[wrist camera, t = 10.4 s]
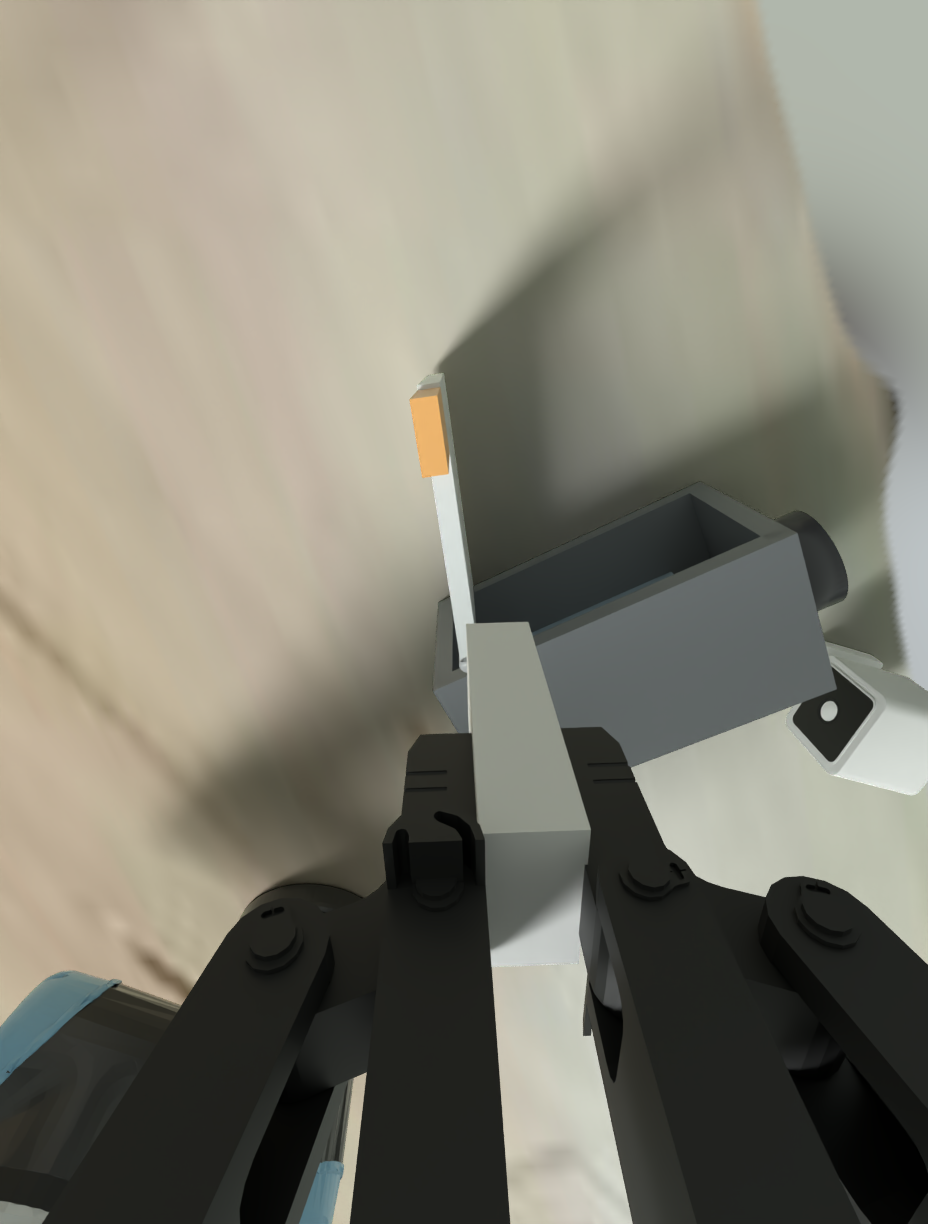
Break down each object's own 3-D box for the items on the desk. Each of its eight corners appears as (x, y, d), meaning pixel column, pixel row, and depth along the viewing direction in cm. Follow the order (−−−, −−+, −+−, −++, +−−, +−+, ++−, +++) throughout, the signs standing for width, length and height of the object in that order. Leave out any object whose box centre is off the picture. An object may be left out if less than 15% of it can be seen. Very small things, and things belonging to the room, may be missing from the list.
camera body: (495, 703, 46) (508, 814, 35) (438, 602, 42) (432, 691, 31) (778, 584, 42) (892, 668, 31) (743, 461, 38) (860, 505, 27)
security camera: (799, 627, 43) (890, 701, 34) (877, 651, 44) (986, 728, 35) (757, 694, 46) (832, 779, 37) (832, 715, 47) (923, 803, 38)
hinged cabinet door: (474, 591, 41) (485, 727, 26) (459, 593, 41) (461, 729, 26) (443, 372, 35) (436, 389, 20) (426, 375, 35) (405, 393, 20)
